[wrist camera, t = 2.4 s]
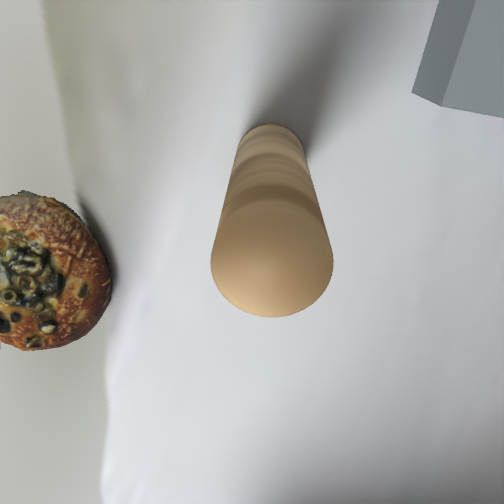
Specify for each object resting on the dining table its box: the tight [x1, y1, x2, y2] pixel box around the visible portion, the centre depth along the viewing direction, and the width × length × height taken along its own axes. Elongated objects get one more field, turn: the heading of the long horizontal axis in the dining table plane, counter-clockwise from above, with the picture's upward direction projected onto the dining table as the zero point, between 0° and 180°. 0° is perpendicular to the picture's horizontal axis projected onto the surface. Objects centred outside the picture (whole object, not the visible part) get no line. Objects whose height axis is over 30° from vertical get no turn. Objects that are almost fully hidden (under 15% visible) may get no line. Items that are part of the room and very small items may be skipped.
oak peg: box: [211, 124, 333, 317], centre depth 22 cm, size 4×4×14 cm
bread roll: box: [0, 190, 112, 351], centre depth 31 cm, size 11×11×5 cm
